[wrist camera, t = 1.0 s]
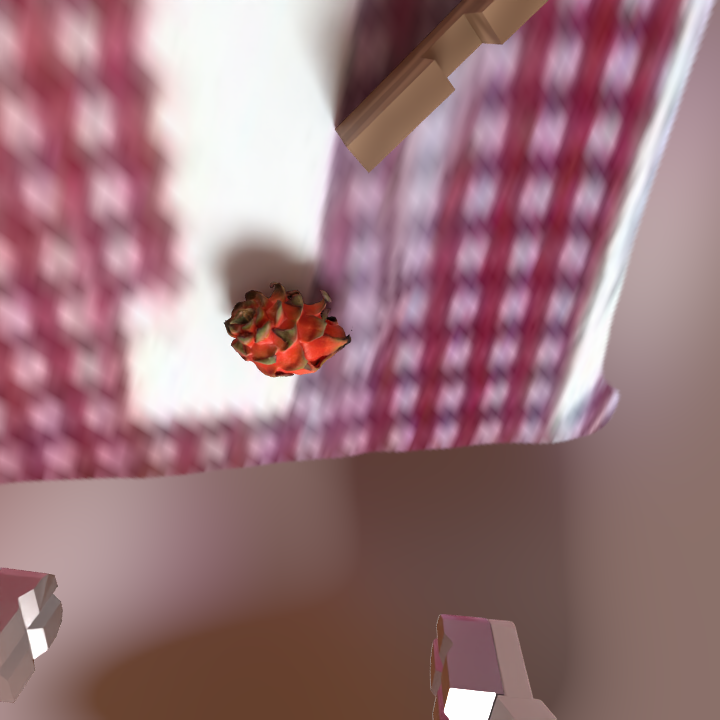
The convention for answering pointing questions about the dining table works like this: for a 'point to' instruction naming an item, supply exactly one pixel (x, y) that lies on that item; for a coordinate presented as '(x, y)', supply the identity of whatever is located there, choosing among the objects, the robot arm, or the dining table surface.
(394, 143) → the walnut slotted plate
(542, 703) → the robot arm
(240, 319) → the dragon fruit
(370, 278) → the dining table surface
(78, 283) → the dining table surface
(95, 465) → the dining table surface
